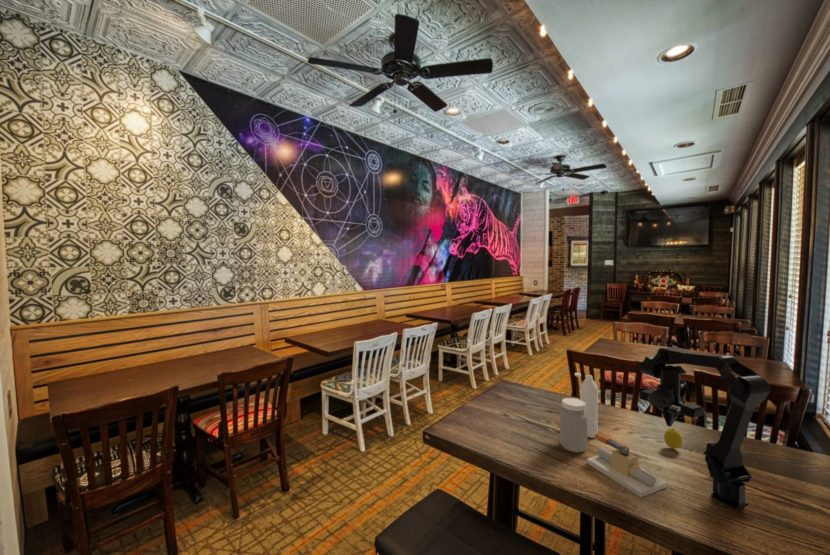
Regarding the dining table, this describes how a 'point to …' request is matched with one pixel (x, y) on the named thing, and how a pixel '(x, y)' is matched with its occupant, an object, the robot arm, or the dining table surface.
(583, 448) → the jar
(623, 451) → the lever
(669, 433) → the lemon
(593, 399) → the water bottle
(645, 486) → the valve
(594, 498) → the dining table surface
